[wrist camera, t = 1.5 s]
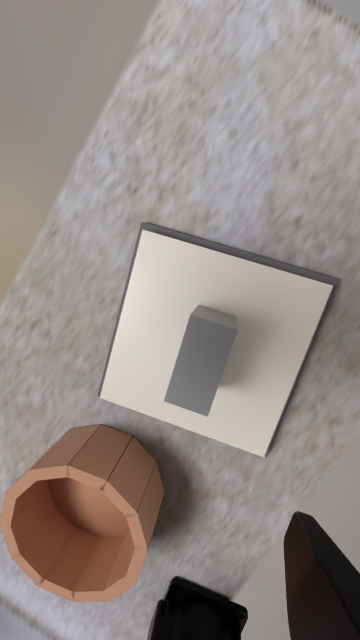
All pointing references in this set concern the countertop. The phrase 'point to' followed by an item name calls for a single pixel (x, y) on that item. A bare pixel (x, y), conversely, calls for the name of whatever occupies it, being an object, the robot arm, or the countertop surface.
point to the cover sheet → (250, 354)
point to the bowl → (84, 514)
